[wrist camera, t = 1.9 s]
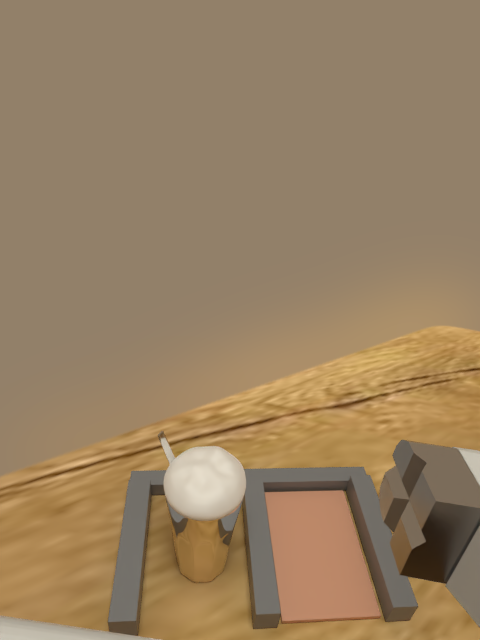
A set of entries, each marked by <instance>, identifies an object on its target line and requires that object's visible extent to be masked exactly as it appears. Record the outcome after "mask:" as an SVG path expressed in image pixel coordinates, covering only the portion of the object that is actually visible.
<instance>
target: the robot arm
mask: <svg viewBox="0 0 480 640" xmlns="http://www.w3.org/2000/svg"><path fill="white" fill-rule="evenodd" d="M392 456H393V458H394V461H395V464H396V466H395V467H393V468H392V469H390V470H389V471H387V472H386V473H385V475H384V478H383V481H382V483H381V487H380V497H379V503H380V512H381V515H382V519H383V522H384V523H385V524H386V525H387V526H388V527H389V528H390V529H391V530H392V531H393V532H394V533H393V536H392V538H391V540H390V545H391V549H392V552H393V555H394V558H395V562H396V565H397V568H398V571H399V575H402V576H408V577H413V578H418V579H424V580H429V581H434V582H440V583H445V584H446V587H447V588H448V590H449V591H450V592H451V593H452V595H453V596H454V597H455V598H456V599H457V601H458V602H459V603H460V604H461V605H462V607H463V608H464V609H465V610H466V612H467V613H468V614H469V615H470V616H471V618H472V619H473V620H474V621H475V622H476V624H477V625H478V626H479V627H480V452H479V451H478V450H471V449H463V448H456V447H452V448H451V447H444V446H438V445H432V444H426V443H420V442H413V441H407V440H401V441H400V442H399V443H398V445H397V446H396V448H395V451H394V453H393V455H392ZM0 640H160V639H153V638H146V637H140V636H133V635H126V634H120V633H113V632H106V631H100V630H93V629H86V628H80V627H73V626H66V625H60V624H53V623H46V622H40V621H33V620H26V619H20V618H13V617H6V616H0Z"/></svg>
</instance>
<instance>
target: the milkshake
mask: <svg viewBox="0 0 480 640" xmlns="http://www.w3.org/2000/svg"><path fill="white" fill-rule="evenodd" d="M158 438H159V440H160V442H161V445H162V447H163V449H164V452H165V454H166V456H167V459H168V461H169V463H170V465H169V467H168V469H167V471H166V473H165V476H164V492H165V497H166V502H167V507H168V511H169V516H170V520H171V527H172V534H173V540H174V547H175V554H176V559H177V562H178V565H179V568H180V572H181V574H183V575H184V576H186V577H187V578H188V579H190V580H191V581H193V582H194V583H195V582H211V581H212V580H213V579H214V578H215V577H217V576H218V575H219V574H220V573H221V572H223V570H224V566H225V562H226V558H227V554H228V550H229V546H230V542H231V537H232V533H233V529H234V526H235V523H236V521H237V518H238V514H239V511H240V508H241V504H242V501H243V498H244V494H245V490H246V476H245V471H244V468H243V466H242V464H241V463H240V462H239V460H238V459H237V458H236V457H234V456H233V455H232V454H230V453H229V452H227V451H226V450H224V449H223V448H221V447H218V446H207V447H194V448H191V449H188V450H186V451H185V452H183V453H181V454H180V455H179V456H178V457H176V458H175V457H174V455H173V452H172V450H171V448H170V445H169V443H168V441H167V438H166V436H165V434H164V431H161V432H160V433H159V434H158Z"/></svg>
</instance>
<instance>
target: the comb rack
mask: <svg viewBox="0 0 480 640" xmlns="http://www.w3.org/2000/svg"><path fill="white" fill-rule="evenodd" d="M166 471H167V470H163V471H131V478H130V480H129V483H128V489H127V496H126V503H125V510H124V516H123V523H122V530H121V537H120V544H119V550H118V557H117V564H116V571H115V577H114V584H113V591H112V598H111V605H110V611H109V618H108V625H109V630H110V632H113V633H120V634H126V635H138V629H139V619H140V609H141V598H142V588H143V578H144V567H145V557H146V547H147V536H148V526H149V516H150V505H151V495H165V492H164V476H165V473H166ZM244 471H245V476H246V490H245V494H244V498H243V501H242V506H243V517H244V528H245V540H246V551H247V562H248V574H249V585H250V596H251V608H252V619H253V629H258V628H277V626H278V622H279V618H280V615H281V622H282V623H299V622H317V621H336V620H355V619H374V618H380V617H381V614H380V611H379V608H378V604H377V601H376V598H375V594H374V591H373V588H372V584H371V581H370V578H369V574H368V571H367V568H366V564H365V561H364V558H363V554H362V551H361V548H360V544H359V541H358V538H357V534H356V531H355V528H354V524H353V521H352V518H351V514H350V511H349V508H348V504H347V501H346V498H345V494H344V491H343V490H346V493H347V496H348V500H349V503H350V506H351V510H352V513H353V516H354V519H355V523H356V526H357V529H358V533H359V536H360V539H361V542H362V546H363V549H364V552H365V556H366V559H367V562H368V565H369V569H370V572H371V575H372V579H373V582H374V585H375V588H376V592H377V595H378V598H379V601H380V605H381V608H382V611H383V615H384V618H385V621H386V622H388V621H406V620H410V619H411V617H412V616H413V614H414V612H415V611H416V609H417V607H418V604H417V602H416V599H415V596H414V593H413V591H412V588H411V585H410V583H409V580H408V577H407V576H402V575H399V571H398V568H397V565H396V562H395V558H394V555H393V552H392V549H391V545H390V540H391V538H392V533H391V531H390V528H389V527H388V526H387V525H386V524H385V523H384V522H383V519H382V515H381V512H380V503H379V498H378V495H377V493H376V490H375V487H374V484H373V482H372V479H371V476H370V475H366V472H365V470H364V467H328V468H273V469H244ZM264 492H265V493H264Z"/></svg>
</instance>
